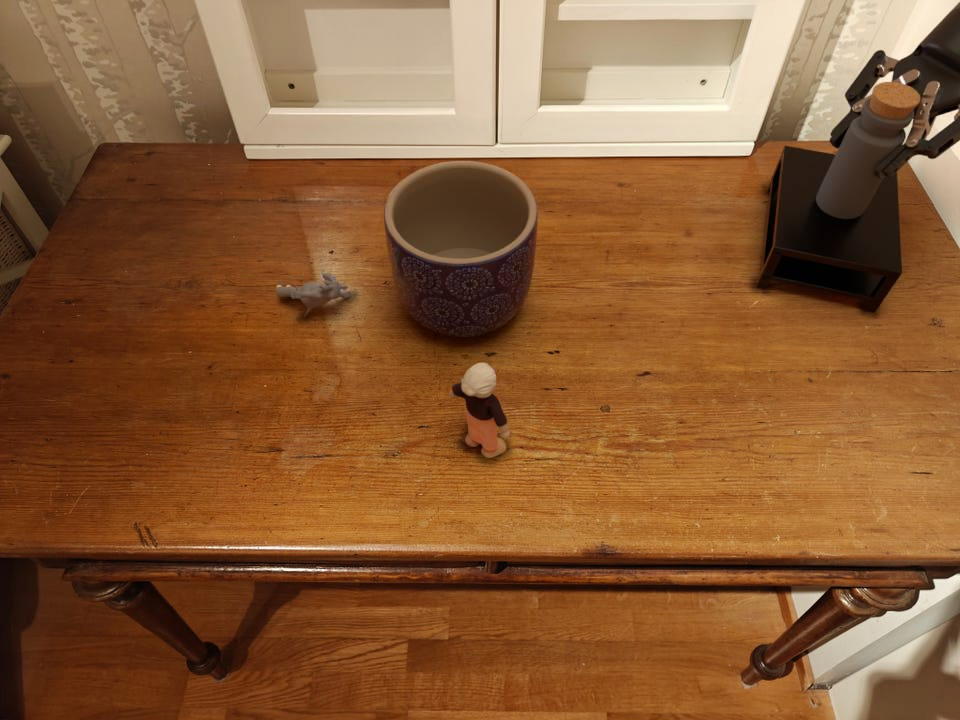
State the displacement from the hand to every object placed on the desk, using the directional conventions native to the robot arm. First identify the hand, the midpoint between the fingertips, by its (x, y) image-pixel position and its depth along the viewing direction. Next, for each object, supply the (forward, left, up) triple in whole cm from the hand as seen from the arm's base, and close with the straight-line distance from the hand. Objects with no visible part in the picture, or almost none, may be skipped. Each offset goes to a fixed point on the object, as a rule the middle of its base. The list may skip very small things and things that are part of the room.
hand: (855, 159), depth 79 cm
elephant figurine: (+57, +29, -14) cm, 65 cm away
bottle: (-1, -1, -7) cm, 8 cm away
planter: (+40, +22, -14) cm, 48 cm away
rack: (-1, -1, -14) cm, 14 cm away
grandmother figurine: (+32, +40, -14) cm, 53 cm away
